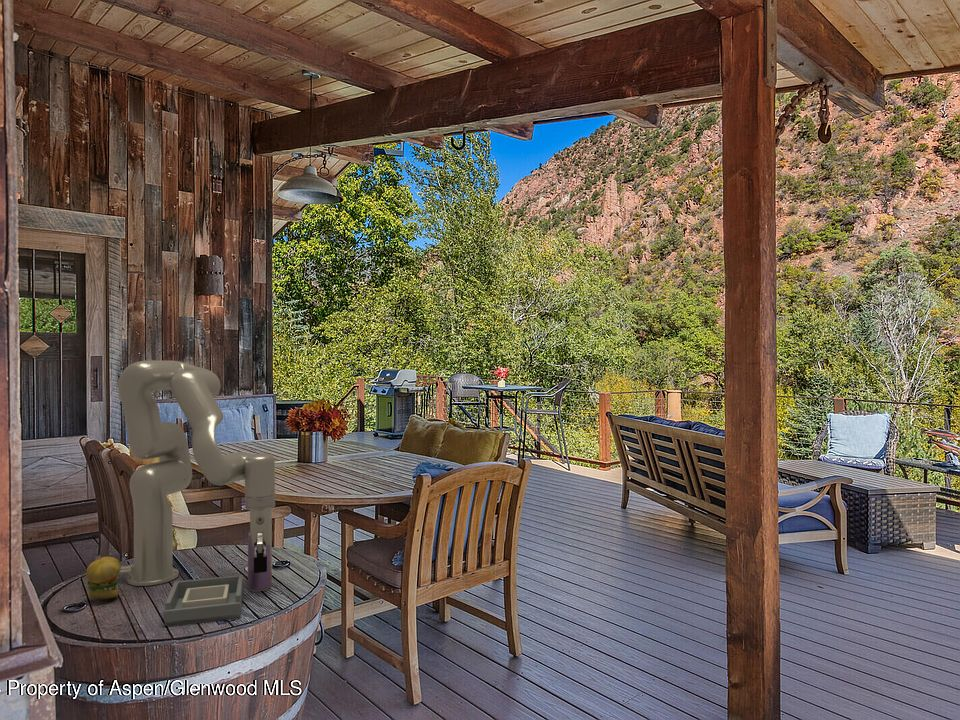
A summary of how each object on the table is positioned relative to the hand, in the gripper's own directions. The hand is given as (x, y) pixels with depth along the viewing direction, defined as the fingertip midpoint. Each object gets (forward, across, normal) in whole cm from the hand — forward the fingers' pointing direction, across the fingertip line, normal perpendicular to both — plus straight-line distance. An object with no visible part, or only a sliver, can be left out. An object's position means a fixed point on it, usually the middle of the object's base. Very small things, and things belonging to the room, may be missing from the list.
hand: (260, 566), depth 168 cm
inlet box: (+6, -11, +12) cm, 17 cm away
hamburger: (+6, +3, +37) cm, 38 cm away
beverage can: (+6, 0, 0) cm, 6 cm away
